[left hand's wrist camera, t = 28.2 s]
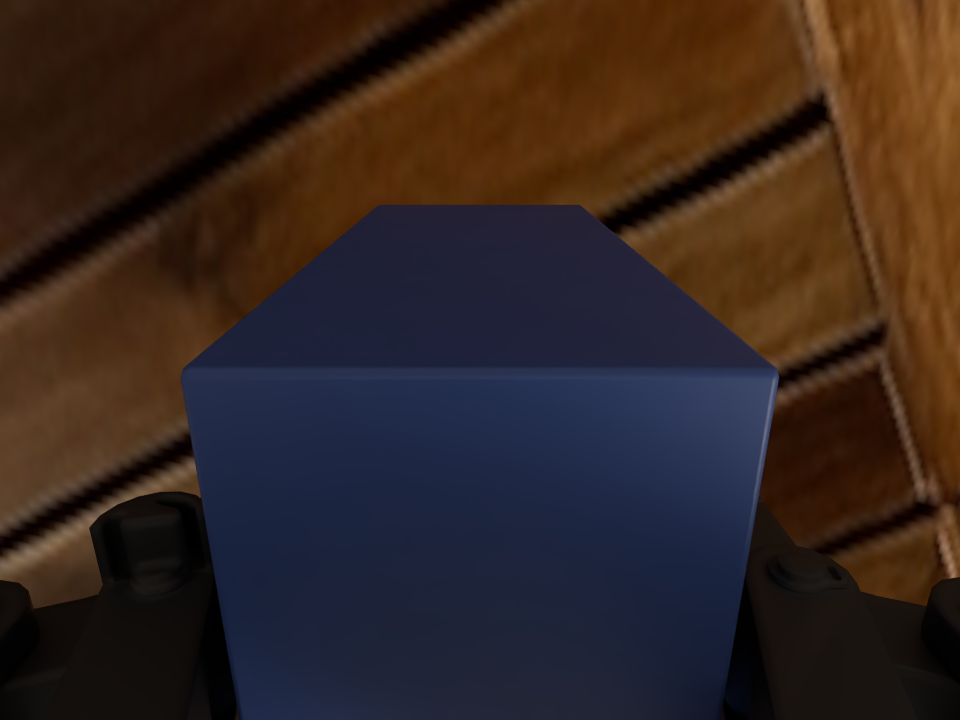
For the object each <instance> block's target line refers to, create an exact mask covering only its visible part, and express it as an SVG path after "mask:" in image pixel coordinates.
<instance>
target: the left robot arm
mask: <svg viewBox="0 0 960 720" xmlns="http://www.w3.org/2000/svg"><path fill="white" fill-rule="evenodd" d="M761 500H762V499H761V498H760V496H759V497H758V503H757V508H756V514H755V520H754V526H753V532H752V537H751V543H750V549H749V555H748V561H747V567H746V572H745V578H744V584H743V590H742V596H741V602H740V607H739V613H738V619H737V625H736V631H735V636H734V642H733V648H732V654H731V660H730V666H729V671H728V677H727V683H726V689H725V695H724V701H723V706H722V712H721V718H720V720H960V577H958V578H951V579H944V580H941V581H940V582H938V583H937V584H936V585H935V586H933V587H932V589H931V593H930V596H929V599H928V603H927V606H923V605H918V604H913V603H908V602H904V601H899V600H894V599H889V598H884V597H879V596H875V595H872V594H868V593H864V592H861V591H860V589H859V587H858V585H857V583H856V582H855V580H854V579H853V578H852V576H851V575H850V574H849V572H848V571H847V570H846V569H845V568H843V567H842V566H840V565H839V564H838V563H836V562H835V561H834V560H832V559H831V558H829V557H827V556H824V555H822V554H820V553H818V552H815V551H813V550H811V549H807V548H803V547H799V546H796V545H795V544H794V542H793V541H792V539H791V538H790V537H789V535H788V534H787V533H786V531H785V530H784V529H783V527H782V526H781V525H780V523H779V522H778V521H777V519H776V518H775V517H774V515H773V514H772V513H771V511H770V510H769V509H768V507H767V506H766V505H765V503H762V501H761ZM89 529H90V533H91V537H92V541H93V545H94V549H95V554H96V558H97V562H98V566H99V570H100V574H101V578H102V582H103V586H102V588H101V590H100V593H99V595H95V596H91V597H88V598H84V599H79V600H75V601H70V602H65V603H60V604H56V605H51V606H46V607H41V608H36V609H34V608H33V605H32V601H31V598H30V595H29V591H28V590H27V589H26V588H24V587H23V586H22V585H21V584H19V583H16V582H9V581H3V580H0V720H239V715H238V709H237V703H236V698H235V692H234V686H233V680H232V674H231V668H230V663H229V657H228V651H227V645H226V639H225V633H224V627H223V622H222V616H221V610H220V604H219V598H218V592H217V587H216V581H215V575H214V569H213V563H212V557H211V551H210V546H209V540H208V534H207V528H206V522H205V516H204V511H203V505H202V499H201V498H199V497H198V496H197V495H193V494H189V493H185V492H158V493H153V494H149V495H144V496H139V497H136V498H134V499H131V500H128V501H126V502H123V503H121V504H118V505H116V506H115V507H113V508H111V509H110V510H108V511H107V512H105V513H103V514H102V515H100V516H99V517H98V519H97V520H96V521H95V522H94V523H93V524H92V525H91V526H90V528H89Z"/></svg>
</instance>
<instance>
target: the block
mask: <svg viewBox="0 0 960 720" xmlns="http://www.w3.org/2000/svg"><path fill="white" fill-rule="evenodd" d="M778 380H779V376H778V372H777V369H776V367H774V366H773V365H772V364H771V363H769V362H768V361H767V360H766V359H765V358H763V357H762V356H761V355H760V354H759V353H757V352H756V351H755V350H754V349H753V348H751V347H750V346H749V345H748V344H747V343H745V342H744V341H743V340H742V339H741V338H739V337H738V336H737V335H736V334H735V333H733V332H732V331H731V330H730V329H729V328H727V327H726V326H725V325H724V324H723V323H721V322H720V321H719V320H718V319H717V318H715V317H714V316H713V315H712V314H711V313H709V312H708V311H707V310H706V309H704V308H703V307H702V306H701V305H700V304H698V303H697V302H696V301H695V300H694V299H692V298H691V297H690V296H689V295H688V294H686V293H685V292H684V291H683V290H682V289H680V288H679V287H678V286H677V285H676V284H674V283H673V282H672V281H671V280H670V279H668V278H667V277H666V276H665V275H664V274H662V273H661V272H660V271H659V270H658V269H656V268H655V267H654V266H653V265H652V264H650V263H649V262H648V261H647V260H646V259H644V258H643V257H642V256H641V255H639V254H638V253H637V252H636V251H635V250H633V249H632V248H631V247H630V246H629V245H627V244H626V243H625V242H624V241H623V240H621V239H620V238H619V237H618V236H617V235H615V234H614V233H613V232H612V231H611V230H609V229H608V228H607V227H606V226H605V225H603V224H602V223H601V222H600V221H599V220H597V219H596V218H595V217H594V216H593V215H591V214H590V213H589V212H588V211H587V210H585V209H584V208H583V207H582V206H580V205H379V206H377V207H376V208H374V209H373V210H372V211H371V212H370V213H368V214H367V215H366V216H365V217H364V218H362V219H361V220H360V221H359V222H358V223H357V224H355V225H354V226H353V227H352V228H351V229H349V230H348V231H347V232H346V233H345V234H343V235H342V236H341V237H340V238H339V239H337V240H336V241H335V242H334V243H333V244H331V245H330V246H329V247H328V248H327V249H325V250H324V251H323V252H322V253H321V254H319V255H318V256H317V257H316V258H315V259H313V260H312V261H311V262H310V263H309V264H307V265H306V266H305V267H304V268H303V269H302V270H300V271H299V272H298V273H297V274H296V275H294V276H293V277H292V278H291V279H290V280H288V281H287V282H286V283H285V284H284V285H282V286H281V287H280V288H279V289H278V290H276V291H275V292H274V293H273V294H272V295H270V296H269V297H268V298H267V299H266V300H264V301H263V302H262V303H261V304H260V305H258V306H257V307H256V308H255V309H254V310H252V311H251V312H250V313H249V314H248V315H247V316H245V317H244V318H243V319H242V320H241V321H239V322H238V323H237V324H236V325H235V326H233V327H232V328H231V329H230V330H229V331H227V332H226V333H225V334H224V335H223V336H221V337H220V338H219V339H218V340H217V341H215V342H214V343H213V344H212V345H211V346H209V347H208V348H207V349H206V350H205V351H203V352H202V353H201V354H200V355H199V356H198V357H196V358H195V359H194V360H193V361H192V362H190V363H189V364H188V365H187V366H186V367H184V368H183V371H182V375H181V382H182V388H183V394H184V400H185V405H186V411H187V417H188V423H189V429H190V435H191V440H192V446H193V452H194V458H195V464H196V470H197V475H198V481H199V487H200V493H201V499H202V505H203V511H204V516H205V522H206V528H207V534H208V540H209V546H210V551H211V557H212V563H213V569H214V575H215V581H216V587H217V592H218V598H219V604H220V610H221V616H222V622H223V627H224V633H225V639H226V645H227V651H228V657H229V663H230V668H231V674H232V680H233V686H234V692H235V698H236V703H237V709H238V715H239V720H720V718H721V712H722V706H723V701H724V695H725V689H726V683H727V677H728V671H729V666H730V660H731V654H732V648H733V642H734V636H735V631H736V625H737V619H738V613H739V607H740V602H741V596H742V590H743V584H744V578H745V572H746V567H747V561H748V555H749V549H750V543H751V537H752V532H753V526H754V520H755V514H756V508H757V503H758V497H759V491H760V485H761V479H762V473H763V468H764V462H765V456H766V450H767V444H768V438H769V433H770V427H771V421H772V415H773V409H774V404H775V398H776V392H777V386H778Z"/></svg>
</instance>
